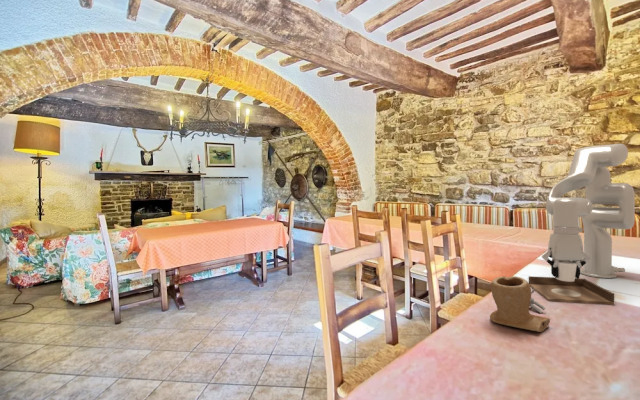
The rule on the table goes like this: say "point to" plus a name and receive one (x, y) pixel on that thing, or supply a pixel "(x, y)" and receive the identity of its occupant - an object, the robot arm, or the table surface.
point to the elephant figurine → (536, 304)
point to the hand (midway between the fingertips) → (565, 276)
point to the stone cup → (515, 304)
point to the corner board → (571, 291)
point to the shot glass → (566, 270)
